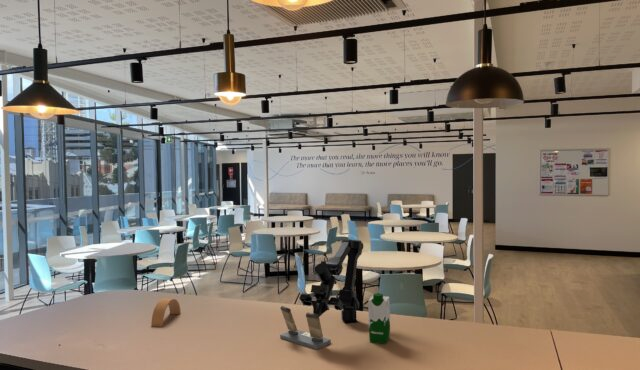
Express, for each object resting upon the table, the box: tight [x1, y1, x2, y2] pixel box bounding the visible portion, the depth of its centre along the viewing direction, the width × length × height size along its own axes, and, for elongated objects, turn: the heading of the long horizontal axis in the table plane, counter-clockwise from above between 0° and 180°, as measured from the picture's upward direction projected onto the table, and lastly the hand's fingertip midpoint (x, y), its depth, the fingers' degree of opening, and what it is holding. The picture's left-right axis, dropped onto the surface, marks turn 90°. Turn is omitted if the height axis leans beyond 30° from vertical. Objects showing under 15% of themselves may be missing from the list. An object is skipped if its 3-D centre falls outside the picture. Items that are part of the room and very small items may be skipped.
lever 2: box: [305, 312, 324, 339], centre depth 184 cm, size 2×5×11 cm, turn 62°
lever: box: [280, 305, 298, 332], centre depth 194 cm, size 2×5×11 cm, turn 38°
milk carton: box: [367, 293, 391, 345], centre depth 190 cm, size 9×9×20 cm
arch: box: [150, 298, 181, 327], centre depth 223 cm, size 6×20×10 cm, turn 172°
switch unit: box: [279, 329, 332, 351], centre depth 191 cm, size 9×21×2 cm, turn 50°
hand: (314, 319), depth 184 cm, fingers closed, pressing on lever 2
